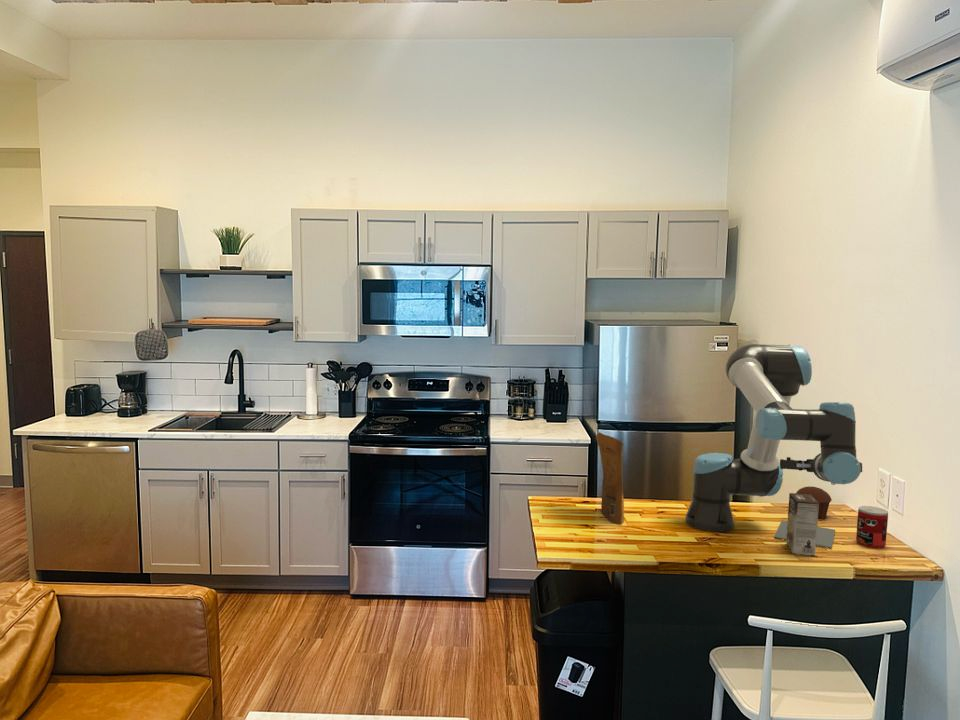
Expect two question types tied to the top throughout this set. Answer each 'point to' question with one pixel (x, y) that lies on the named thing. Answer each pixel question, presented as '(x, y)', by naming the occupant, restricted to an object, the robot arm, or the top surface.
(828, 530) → the mat
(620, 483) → the pancake mix bag
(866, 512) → the canned food
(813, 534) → the coffee box
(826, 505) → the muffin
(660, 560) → the top surface
